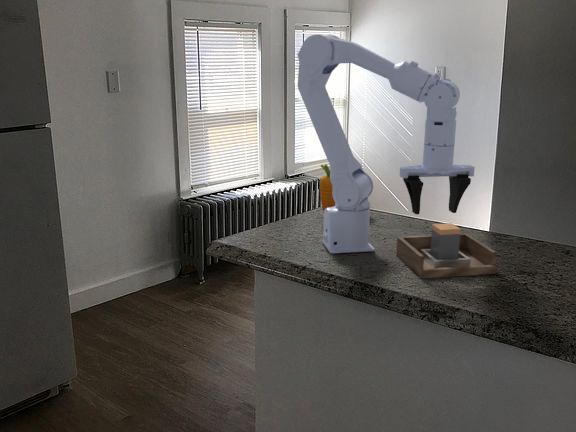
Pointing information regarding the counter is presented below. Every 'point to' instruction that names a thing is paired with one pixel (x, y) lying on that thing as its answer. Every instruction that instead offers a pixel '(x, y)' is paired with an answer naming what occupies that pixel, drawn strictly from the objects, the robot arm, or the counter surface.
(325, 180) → the carrot
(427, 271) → the walnut box
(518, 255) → the counter surface
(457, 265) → the frame
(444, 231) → the two-tone rectangular block
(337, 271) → the counter surface
